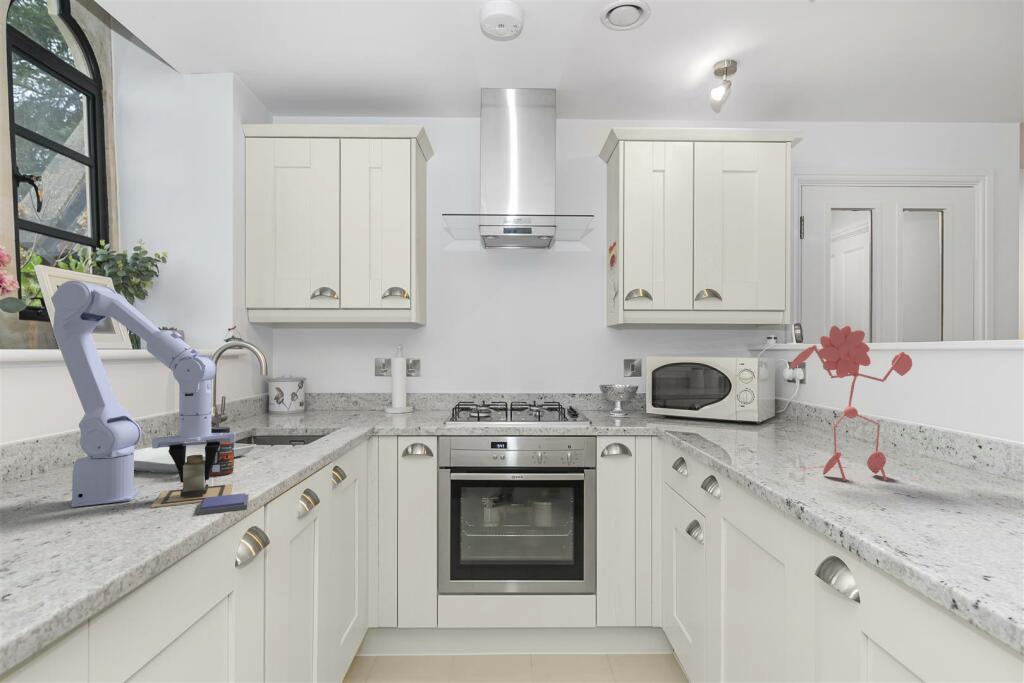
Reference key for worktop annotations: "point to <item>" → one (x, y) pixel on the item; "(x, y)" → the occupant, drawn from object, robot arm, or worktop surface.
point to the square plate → (163, 461)
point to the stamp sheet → (174, 496)
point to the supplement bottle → (223, 455)
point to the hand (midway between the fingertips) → (195, 480)
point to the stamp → (194, 476)
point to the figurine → (845, 357)
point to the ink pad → (223, 503)
